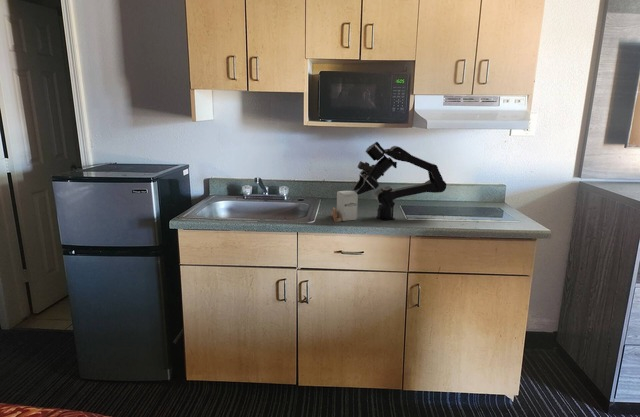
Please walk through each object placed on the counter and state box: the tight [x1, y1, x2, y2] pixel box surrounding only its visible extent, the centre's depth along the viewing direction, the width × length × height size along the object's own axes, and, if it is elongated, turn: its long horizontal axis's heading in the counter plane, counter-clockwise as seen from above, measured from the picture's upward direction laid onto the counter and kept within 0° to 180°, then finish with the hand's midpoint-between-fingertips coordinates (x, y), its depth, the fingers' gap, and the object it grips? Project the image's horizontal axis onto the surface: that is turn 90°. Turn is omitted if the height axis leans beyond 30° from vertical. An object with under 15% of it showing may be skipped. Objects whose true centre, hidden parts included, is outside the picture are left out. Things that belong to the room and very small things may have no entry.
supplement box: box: [336, 190, 359, 222], centre depth 195 cm, size 7×7×13 cm
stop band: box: [332, 207, 342, 223], centre depth 196 cm, size 3×11×4 cm, turn 4°
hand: (355, 191), depth 193 cm, fingers open, 9 cm apart
